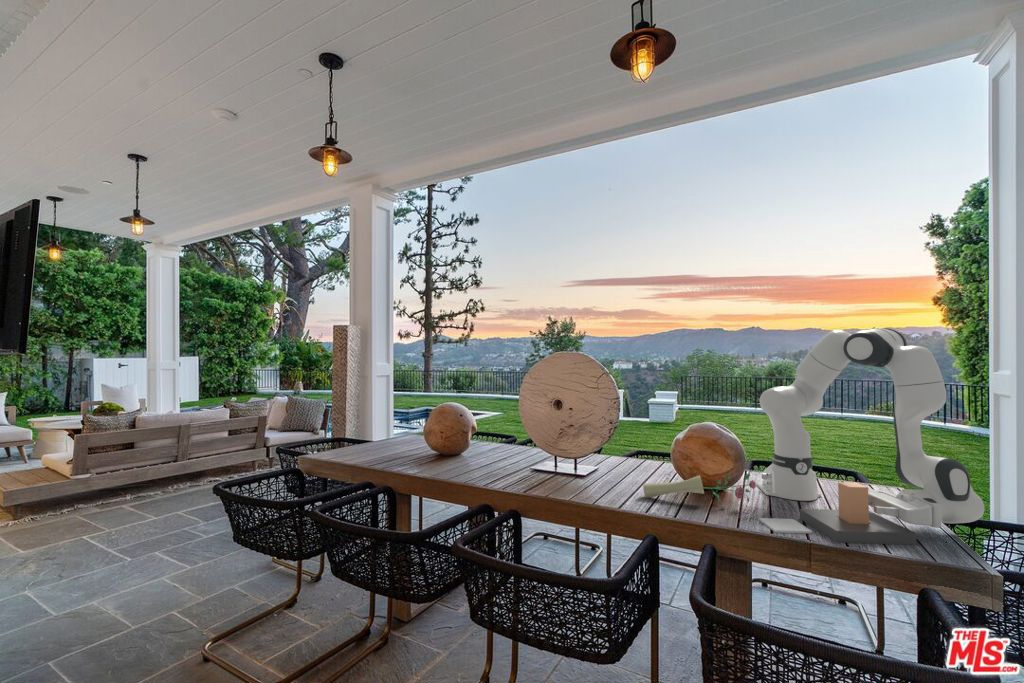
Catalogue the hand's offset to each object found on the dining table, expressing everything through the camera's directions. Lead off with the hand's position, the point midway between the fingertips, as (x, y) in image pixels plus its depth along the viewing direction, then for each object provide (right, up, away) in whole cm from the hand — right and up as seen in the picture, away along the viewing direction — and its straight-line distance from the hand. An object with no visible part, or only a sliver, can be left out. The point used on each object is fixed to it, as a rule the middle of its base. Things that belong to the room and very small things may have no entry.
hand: (863, 504), depth 132 cm
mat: (-21, -8, +3) cm, 22 cm away
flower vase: (-38, -9, +24) cm, 46 cm away
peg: (-3, -8, 0) cm, 8 cm away
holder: (-3, -7, 0) cm, 8 cm away
